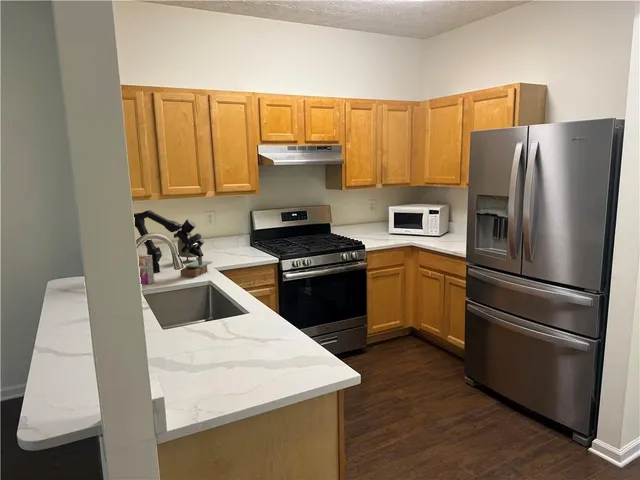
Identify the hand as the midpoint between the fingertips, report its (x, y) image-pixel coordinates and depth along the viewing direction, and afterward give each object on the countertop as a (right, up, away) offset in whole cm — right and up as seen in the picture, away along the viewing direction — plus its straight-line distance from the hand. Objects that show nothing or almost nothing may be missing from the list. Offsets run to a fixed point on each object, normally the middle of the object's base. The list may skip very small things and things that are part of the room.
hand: (201, 256), depth 267 cm
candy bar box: (-28, -15, -18) cm, 37 cm away
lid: (-3, -6, +6) cm, 9 cm away
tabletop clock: (-19, -5, +40) cm, 44 cm away
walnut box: (-5, -11, 0) cm, 12 cm away
